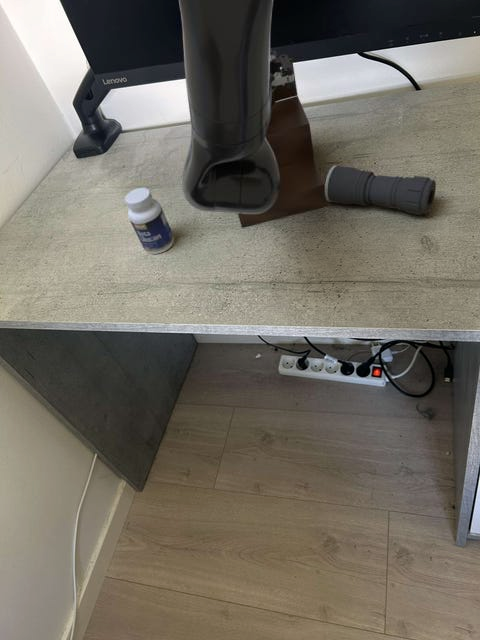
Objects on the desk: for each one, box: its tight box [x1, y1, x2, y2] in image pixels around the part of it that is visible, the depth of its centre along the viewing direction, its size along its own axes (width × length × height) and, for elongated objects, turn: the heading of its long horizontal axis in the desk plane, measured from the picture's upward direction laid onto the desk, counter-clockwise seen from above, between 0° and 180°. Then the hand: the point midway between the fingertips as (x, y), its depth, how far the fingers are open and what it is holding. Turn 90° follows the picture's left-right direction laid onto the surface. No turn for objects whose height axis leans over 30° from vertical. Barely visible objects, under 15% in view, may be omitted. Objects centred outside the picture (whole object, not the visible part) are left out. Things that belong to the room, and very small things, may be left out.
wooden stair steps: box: [237, 57, 328, 228], centre depth 79 cm, size 14×19×16 cm
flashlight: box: [324, 165, 437, 216], centre depth 72 cm, size 15×5×5 cm, turn 59°
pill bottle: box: [124, 187, 175, 255], centre depth 78 cm, size 5×5×10 cm
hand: (250, 59), depth 75 cm, fingers closed on beverage can, 5 cm apart
